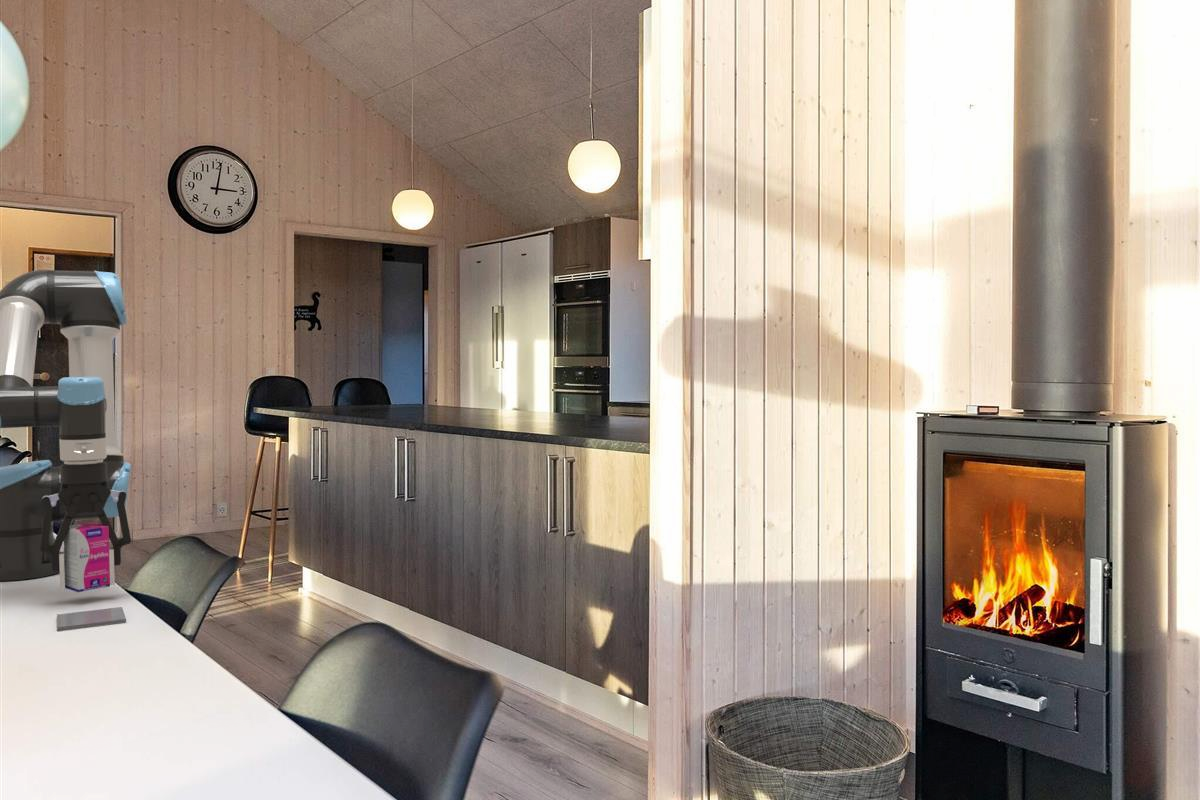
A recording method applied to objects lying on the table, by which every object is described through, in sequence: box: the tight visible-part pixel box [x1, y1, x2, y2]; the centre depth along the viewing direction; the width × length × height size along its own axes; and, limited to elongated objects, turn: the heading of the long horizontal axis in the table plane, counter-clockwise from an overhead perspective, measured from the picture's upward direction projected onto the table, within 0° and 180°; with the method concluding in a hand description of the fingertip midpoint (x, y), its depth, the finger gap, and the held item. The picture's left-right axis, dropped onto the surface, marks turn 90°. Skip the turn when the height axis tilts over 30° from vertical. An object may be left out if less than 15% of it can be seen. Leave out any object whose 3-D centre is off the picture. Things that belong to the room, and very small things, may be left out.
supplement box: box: [63, 522, 111, 593], centre depth 179 cm, size 6×6×12 cm
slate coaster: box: [56, 606, 127, 632], centre depth 165 cm, size 10×10×1 cm
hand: (87, 585), depth 179 cm, fingers closed on supplement box, 7 cm apart
